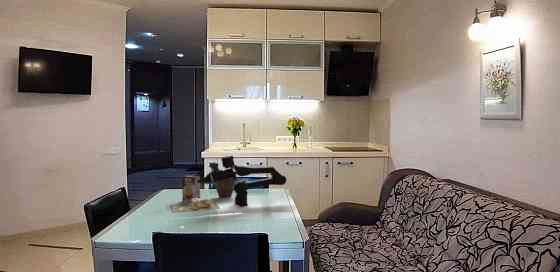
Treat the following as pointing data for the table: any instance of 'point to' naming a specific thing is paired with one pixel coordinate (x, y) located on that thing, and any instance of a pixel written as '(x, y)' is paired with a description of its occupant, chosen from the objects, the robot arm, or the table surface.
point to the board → (191, 207)
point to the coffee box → (190, 187)
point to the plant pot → (224, 188)
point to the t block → (201, 203)
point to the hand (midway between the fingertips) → (197, 181)
